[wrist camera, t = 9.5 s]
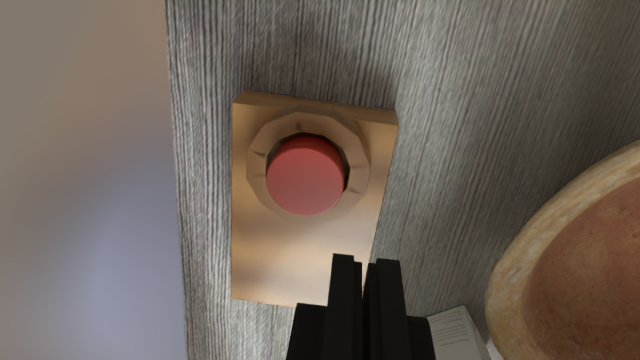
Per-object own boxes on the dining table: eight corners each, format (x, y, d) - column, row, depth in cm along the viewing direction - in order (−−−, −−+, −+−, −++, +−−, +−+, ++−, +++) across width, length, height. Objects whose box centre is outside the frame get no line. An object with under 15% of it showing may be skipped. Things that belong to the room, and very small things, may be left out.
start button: (273, 130, 24) (267, 142, 22) (350, 140, 23) (349, 153, 22) (269, 195, 26) (263, 210, 24) (339, 205, 26) (338, 221, 24)
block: (243, 79, 26) (223, 101, 23) (398, 100, 26) (404, 126, 22) (239, 275, 34) (223, 316, 31) (357, 292, 34) (357, 336, 30)
